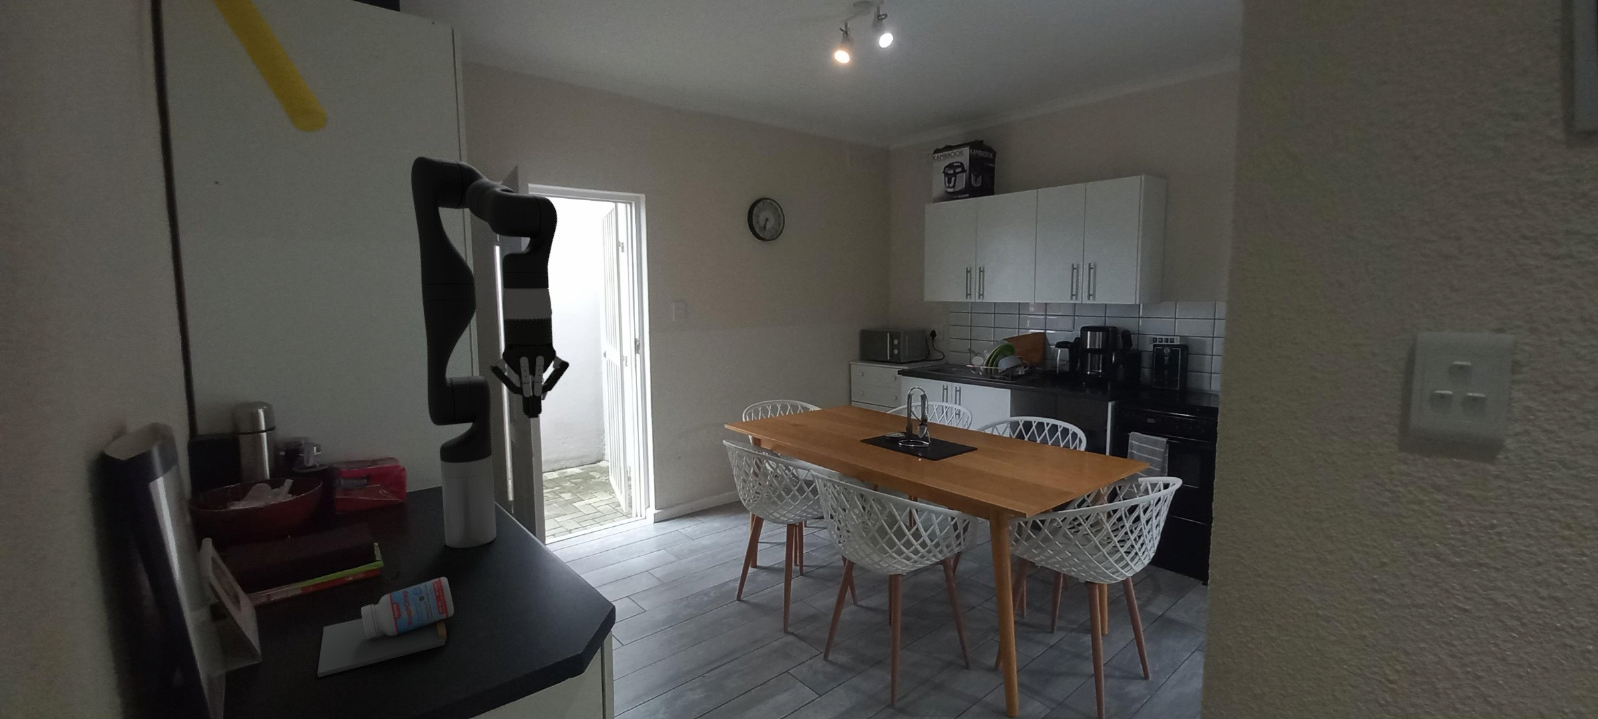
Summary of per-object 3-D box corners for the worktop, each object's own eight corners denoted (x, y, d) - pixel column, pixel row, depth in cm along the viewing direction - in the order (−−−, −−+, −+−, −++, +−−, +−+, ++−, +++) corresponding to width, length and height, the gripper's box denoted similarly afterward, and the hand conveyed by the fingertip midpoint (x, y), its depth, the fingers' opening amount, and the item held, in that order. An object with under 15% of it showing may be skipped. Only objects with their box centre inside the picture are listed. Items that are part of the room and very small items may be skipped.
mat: (324, 630, 100) (323, 626, 100) (437, 604, 108) (437, 601, 108) (317, 677, 88) (317, 673, 88) (445, 644, 96) (445, 640, 96)
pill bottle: (455, 610, 99) (366, 641, 93) (455, 617, 103) (370, 647, 97) (445, 571, 101) (357, 599, 95) (445, 580, 105) (362, 607, 99)
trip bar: (433, 608, 107) (432, 601, 107) (440, 607, 108) (439, 599, 107) (439, 643, 97) (438, 635, 97) (447, 641, 97) (446, 633, 97)
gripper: (563, 313, 119) (567, 409, 121) (481, 315, 112) (487, 417, 114) (573, 315, 112) (577, 417, 114) (488, 318, 105) (493, 426, 107)
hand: (532, 417), depth 114 cm, fingers closed
